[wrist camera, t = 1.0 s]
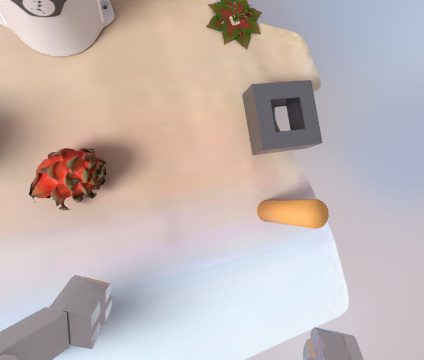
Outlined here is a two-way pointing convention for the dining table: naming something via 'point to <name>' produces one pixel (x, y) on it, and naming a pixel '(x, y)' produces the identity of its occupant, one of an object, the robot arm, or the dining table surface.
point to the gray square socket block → (297, 112)
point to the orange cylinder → (294, 212)
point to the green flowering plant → (238, 6)
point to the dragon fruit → (68, 176)
